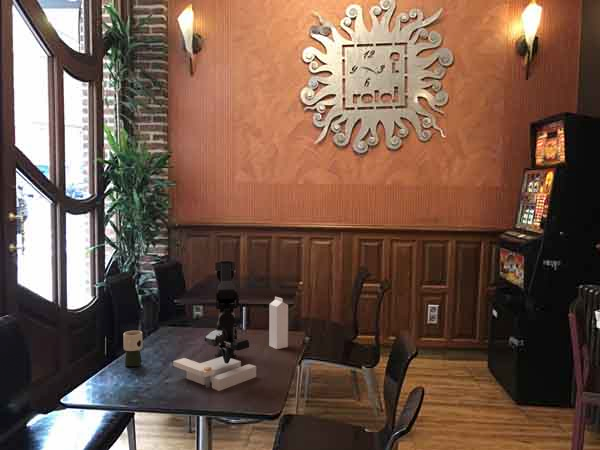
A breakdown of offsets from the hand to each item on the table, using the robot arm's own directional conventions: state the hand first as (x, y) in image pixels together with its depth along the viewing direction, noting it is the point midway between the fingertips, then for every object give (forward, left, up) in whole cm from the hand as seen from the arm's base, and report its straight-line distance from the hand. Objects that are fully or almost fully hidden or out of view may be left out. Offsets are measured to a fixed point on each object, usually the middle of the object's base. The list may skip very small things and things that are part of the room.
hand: (226, 363), depth 195 cm
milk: (-11, +40, -5) cm, 42 cm away
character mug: (-37, -16, -5) cm, 40 cm away
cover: (-5, -11, -1) cm, 12 cm away
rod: (+1, 0, -5) cm, 5 cm away
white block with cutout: (-1, -2, -5) cm, 5 cm away
